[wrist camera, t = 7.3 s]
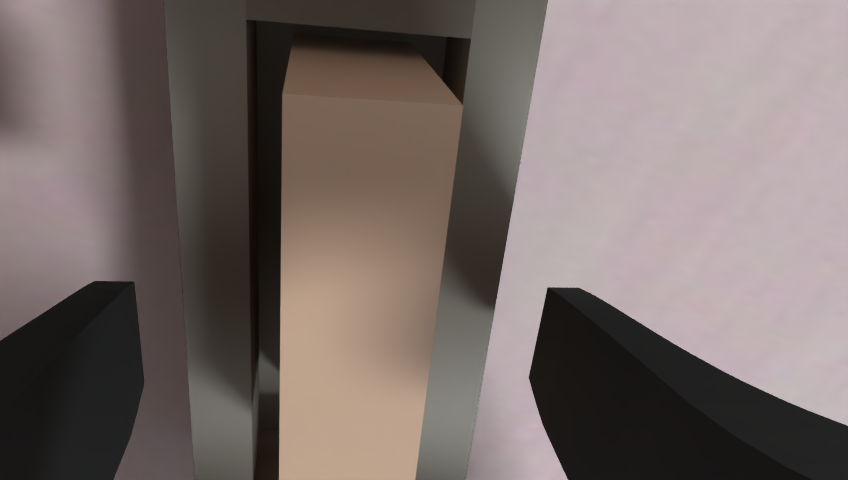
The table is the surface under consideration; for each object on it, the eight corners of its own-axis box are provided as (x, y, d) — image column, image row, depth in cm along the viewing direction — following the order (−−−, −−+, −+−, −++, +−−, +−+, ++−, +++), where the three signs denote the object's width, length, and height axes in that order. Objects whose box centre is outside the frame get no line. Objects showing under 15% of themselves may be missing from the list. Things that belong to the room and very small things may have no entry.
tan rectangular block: (380, 377, 16) (405, 553, 11) (288, 378, 15) (277, 561, 11) (410, 42, 12) (462, 105, 8) (294, 32, 12) (282, 94, 8)
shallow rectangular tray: (443, 434, 18) (466, 521, 16) (208, 441, 17) (188, 535, 14) (513, -40, 13) (565, -31, 10) (181, -76, 12) (143, -77, 9)
